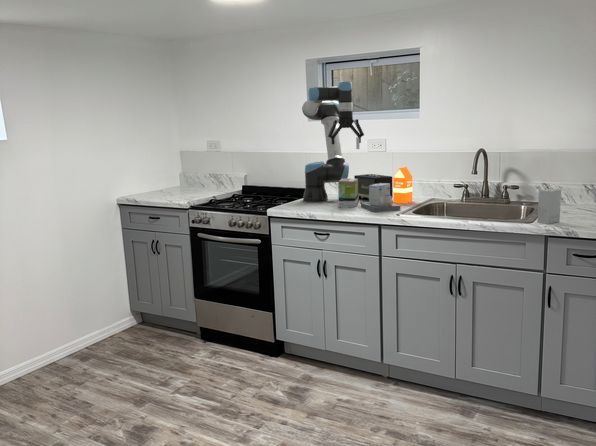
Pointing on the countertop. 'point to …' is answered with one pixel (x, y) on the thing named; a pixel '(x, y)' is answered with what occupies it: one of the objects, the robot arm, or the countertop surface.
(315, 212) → the countertop surface
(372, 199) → the light bulb box
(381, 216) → the countertop surface
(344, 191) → the tea box
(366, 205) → the pin tray
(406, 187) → the orange juice
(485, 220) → the countertop surface
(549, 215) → the skincare box
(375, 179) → the speaker
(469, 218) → the countertop surface
